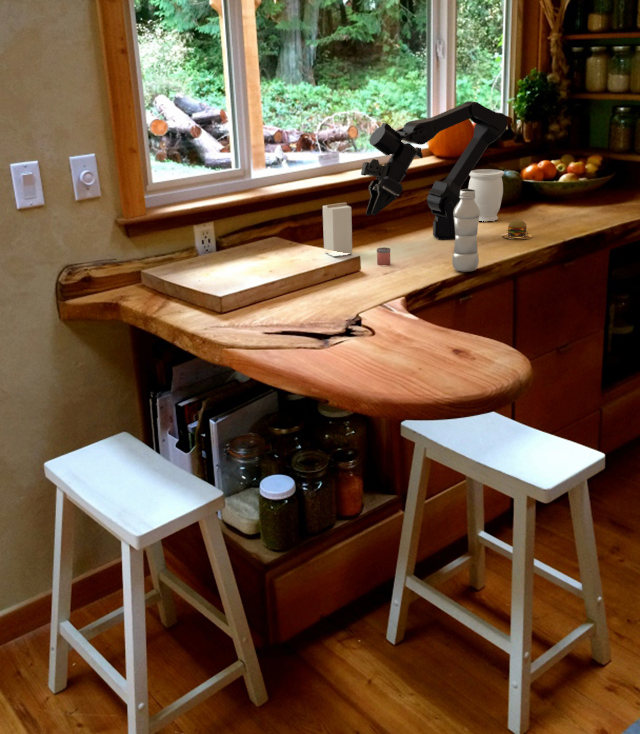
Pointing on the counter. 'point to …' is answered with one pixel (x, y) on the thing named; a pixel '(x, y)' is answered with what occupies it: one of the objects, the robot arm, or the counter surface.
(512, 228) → the hamburger
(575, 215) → the counter surface
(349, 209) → the tall white block
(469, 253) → the plastic bottle
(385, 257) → the tin
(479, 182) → the jar
